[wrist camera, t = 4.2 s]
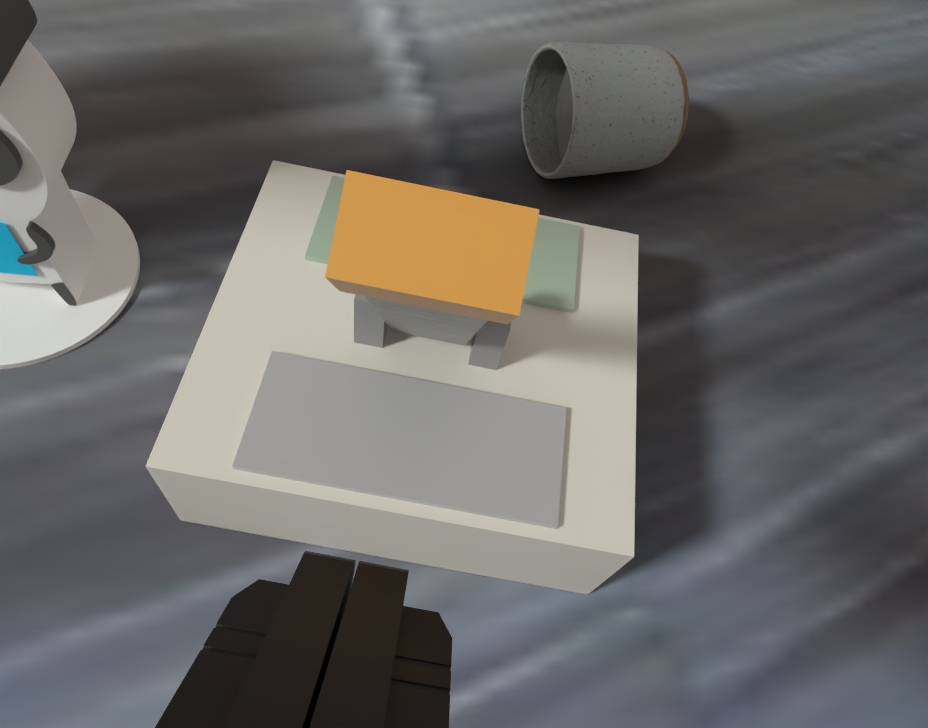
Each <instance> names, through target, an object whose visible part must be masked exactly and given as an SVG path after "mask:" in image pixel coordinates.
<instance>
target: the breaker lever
mask: <svg viewBox="0 0 928 728" xmlns="http://www.w3.org/2000/svg"><path fill="white" fill-rule="evenodd" d="M539 210H540V209H535V208H530V207H525V206H521V205H516V204H511V203H506V202H501V201H496V200H491V199H486V198H481V197H477V196H472V195H467V194H462V193H457V192H452V191H447V190H442V189H437V188H433V187H428V186H423V185H418V184H413V183H408V182H403V181H398V180H394V179H389V178H384V177H379V176H374V175H369V174H364V173H359V172H354V171H350V170H346V175H345V180H344V185H343V190H342V195H341V200H340V205H339V210H338V215H337V220H336V225H335V230H334V235H333V240H332V245H331V250H330V255H329V260H328V265H327V270H326V275H325V278H326V279H327V280H328V281H329V282H330V283H331V284H332V285H334V286H335V287H336V288H337V289H338V290H339V291H340V292H346V293H351V294H356V295H361V296H365V297H366V299H367V300H368V301H369V302H370V304H371V305H372V306H373V307H374V309H375V310H376V311H377V312H378V314H379V315H380V316H381V317H382V319H383V320H384V321H385V322H386V324H387V325H388V326H389V327H390V329H391V330H392V331H393V332H398V333H403V334H408V335H413V336H419V337H424V338H429V339H434V340H439V341H444V342H449V343H454V344H459V345H466V343H467V342H468V341H469V340H470V339H471V338H472V337H473V336H474V335H475V334H476V333H477V332H478V331H479V330H480V328H481V327H482V326H483V325H484V324H485V323H486V322H487V321H492V322H497V323H502V324H509V323H510V322H512V321H513V320H514V319H516V318H517V317H518V316H519V315H520V310H521V304H522V299H523V294H524V289H525V283H526V278H527V273H528V268H529V262H530V257H531V252H532V247H533V242H534V236H535V231H536V226H537V221H538V215H539Z"/></svg>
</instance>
